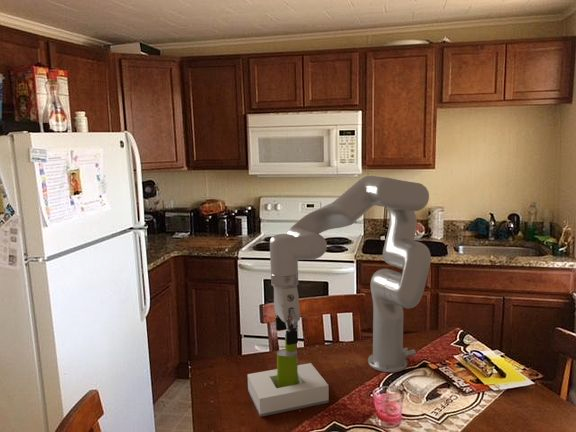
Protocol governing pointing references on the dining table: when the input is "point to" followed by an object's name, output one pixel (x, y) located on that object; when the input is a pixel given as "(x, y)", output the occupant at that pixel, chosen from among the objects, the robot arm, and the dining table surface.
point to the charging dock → (287, 391)
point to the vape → (287, 366)
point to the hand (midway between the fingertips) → (286, 336)
